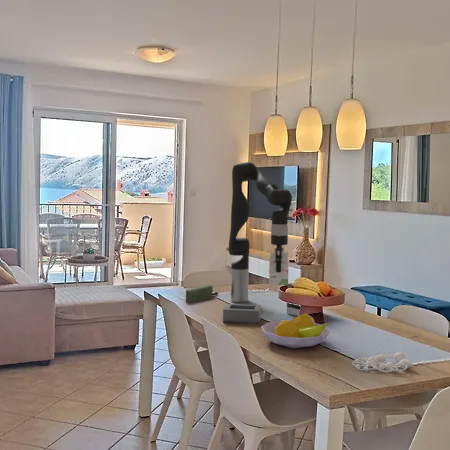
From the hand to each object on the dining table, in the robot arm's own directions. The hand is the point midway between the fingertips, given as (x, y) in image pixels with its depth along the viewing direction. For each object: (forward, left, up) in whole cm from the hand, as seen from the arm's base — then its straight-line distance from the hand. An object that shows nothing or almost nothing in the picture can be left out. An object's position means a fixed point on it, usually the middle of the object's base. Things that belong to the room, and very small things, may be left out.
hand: (278, 271), depth 255 cm
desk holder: (+3, -16, -23) cm, 28 cm away
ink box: (0, 0, -6) cm, 6 cm away
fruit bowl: (+36, +9, -23) cm, 44 cm away
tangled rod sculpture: (+60, +39, -23) cm, 75 cm away
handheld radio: (-39, -42, -23) cm, 62 cm away
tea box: (-16, +12, -23) cm, 30 cm away
